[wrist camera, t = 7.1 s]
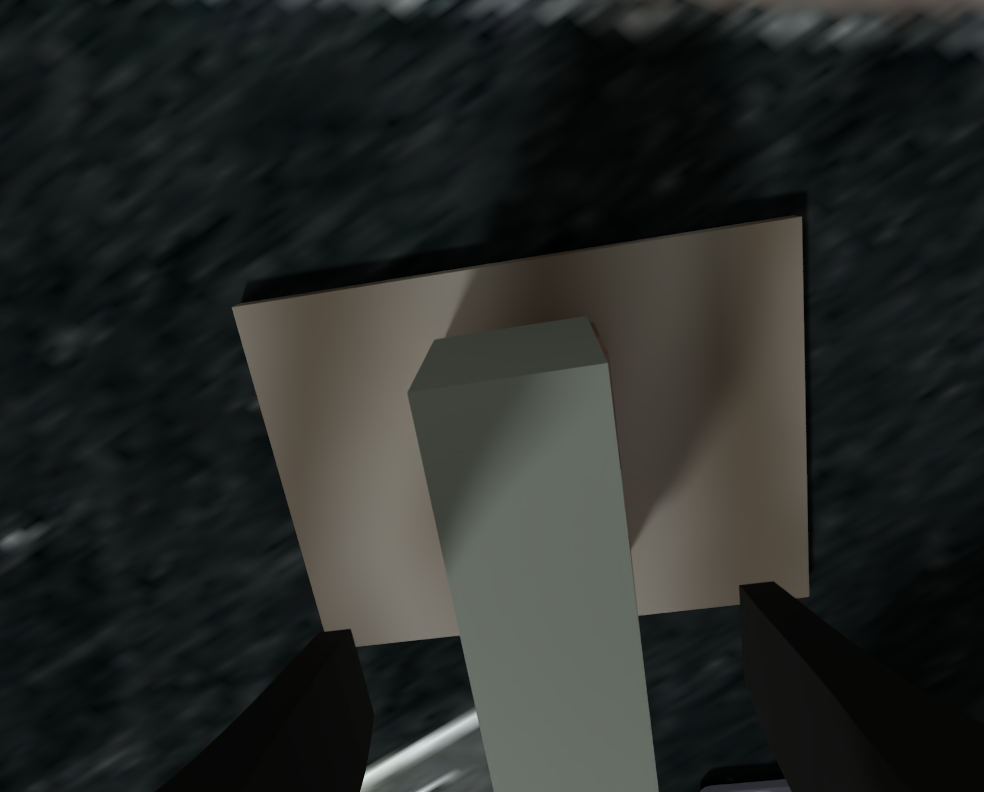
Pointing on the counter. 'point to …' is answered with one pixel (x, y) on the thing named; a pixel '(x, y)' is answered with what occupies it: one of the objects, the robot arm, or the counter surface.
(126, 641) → the counter surface
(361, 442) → the arch base
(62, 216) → the counter surface
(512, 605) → the lintel
